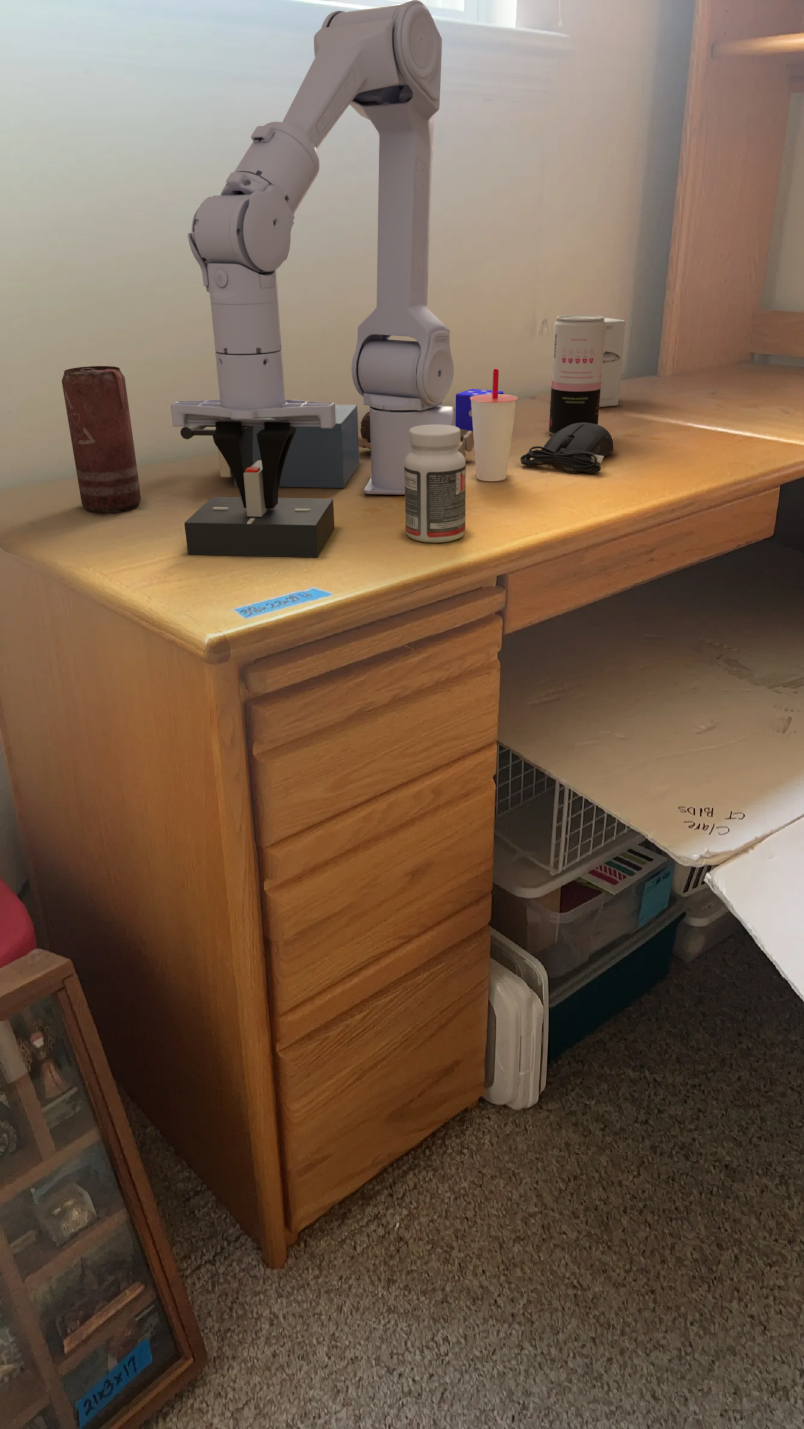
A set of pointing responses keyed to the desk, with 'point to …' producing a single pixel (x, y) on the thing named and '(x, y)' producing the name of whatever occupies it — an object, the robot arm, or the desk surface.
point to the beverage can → (576, 370)
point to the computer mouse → (574, 448)
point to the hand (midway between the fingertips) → (260, 505)
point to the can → (102, 438)
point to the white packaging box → (612, 361)
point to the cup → (492, 432)
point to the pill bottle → (435, 484)
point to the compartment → (320, 452)
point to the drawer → (201, 431)
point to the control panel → (260, 528)
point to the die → (467, 407)
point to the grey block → (254, 490)
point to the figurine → (365, 441)
